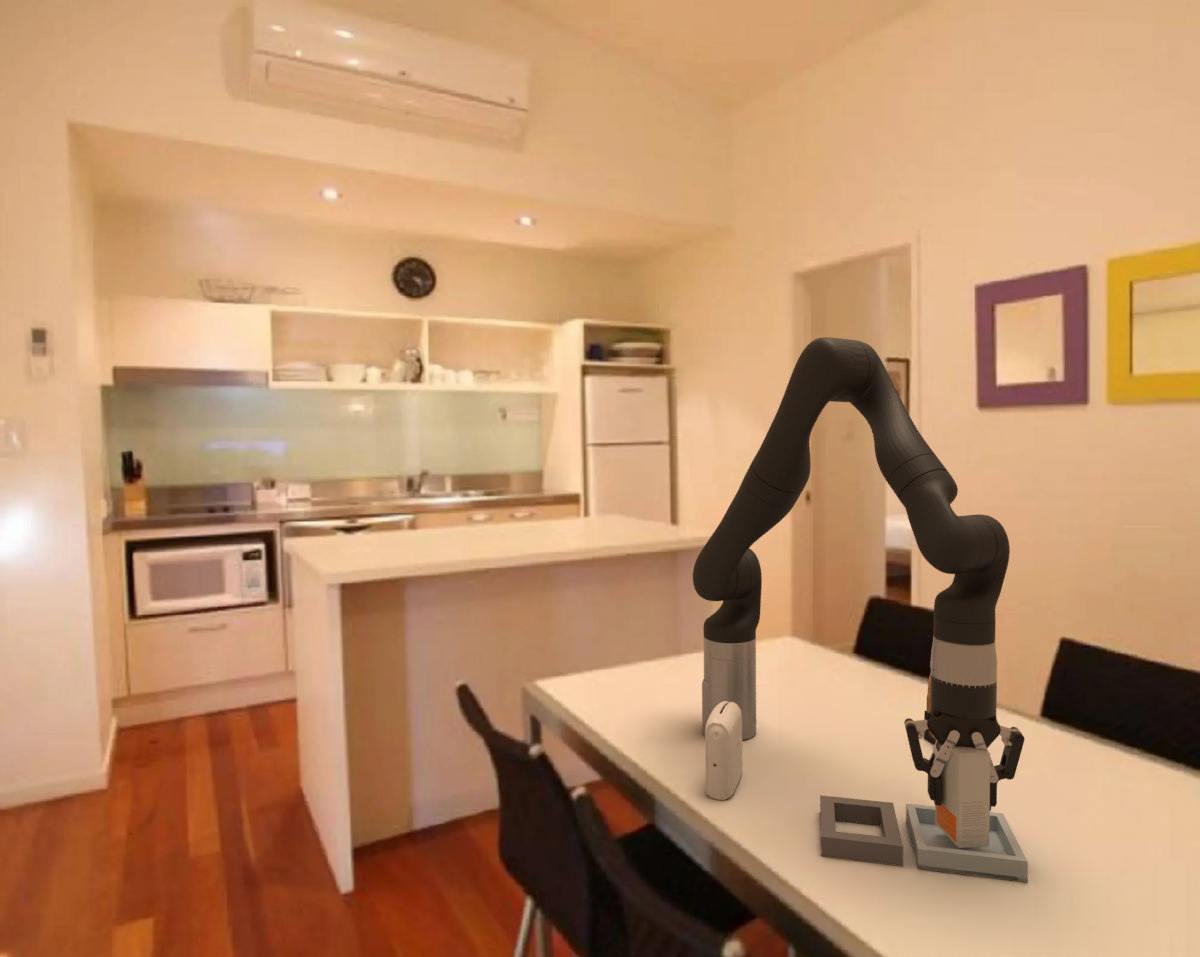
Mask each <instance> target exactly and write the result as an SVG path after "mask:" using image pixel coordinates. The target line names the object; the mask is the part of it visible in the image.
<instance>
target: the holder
mask: <svg viewBox="0 0 1200 957" xmlns="http://www.w3.org/2000/svg"><path fill="white" fill-rule="evenodd" d="M819 819H820V820H819V822H820V852H821V854H820V855H821V857H827V858H834V859H835V858H836V859H841V860H842V859H844V860H850V861H851V860H852V861H860V862H867V863H876V864H883V865H891V866H892V865H893V866H898V867H900V866H901V867H904V866H903V865H904V845H903V841H902V835H901V832H900V827H899V824H898V818H897V813H896V810H895V805H894V802H889V801H881V800H880V801H878V800H870V799H861V798H851V797H850V798H849V797H839V796H830V795H821V794H820V795H819ZM836 822H846V823H855V824H864V825H865V824H867V825H874V826H880V831H881V836H879V835H871V834H864V833H863V834H861V833H853V832H846V831H837V830H836V829H837V828H836V827H837V826H836Z"/></svg>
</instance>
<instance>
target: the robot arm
mask: <svg viewBox="0 0 1200 957" xmlns="http://www.w3.org/2000/svg"><path fill="white" fill-rule="evenodd" d="M780 401H781V402H780V404H779V407H778V409H777V410H776V413H775V416H774V418H773V419H772V422H771V424H770V426H769V428H768V430H767V433H766V435H765V437H764V439H763V441H762V443H761V445H760V447H759V448H758V450H757V453H756V454H755V456H754V457H753V459H752V461H751V462H750V465H749V467H748V468H747V471H746V472H745V475H744V476H743V479H742V481H741V483H740V485H739V487H738V490H737V492H736V494H735V495H734V497H733V499H732V501H731V503H730V504H729V506H728V508H727V509H726V512H725V513H724V515H723V517H722V518H721V521H720V522H719V524H718V525H717V527H716V529H715V530H714V531H713V533H712V534H711V536H710V537H709V539H708V541H706V543H705V545H703V547H702V549H701V551H700V552H699V554H698V556H697V558H696V559H695V563H694V565H693V570H692V583H693V587H694V590H695V591H696V593H697V595H698V596H699V597H700V598H701V599H703V600H706V601H709V602H722V603H721V605H720V607H719V608H718V609H717V610H716V611H715V612H713V613H712V614H711V615H710V616H708V617H707V618H706V619H705V620H704V622H703V628H702V629H703V679H702V681H701V704H702V706H701V708H702V709H701V710H702V711H701V713H702V714H701V717H702V718H701V719H702V723H701V725H702V727H701V728H702V731H701V732H702V735H703V736H705V728H706V723H707V720H708V718H709V716H710V714H711V712H712V711H713V709H714V708H715V707H716V706H717V705H718V704H719V703H721V702H724V701H728V702H734V703H736V704H737V705H738V706H739V708H740V710H741V713H742V741H744V740H747V739H748V740H749V739H751V738H753V737H754V736H756V735H757V636H756V635H757V634H756V633H757V628H758V626H759V623H760V619H761V602H762V589H763V588H762V586H763V585H762V582H763V581H762V580H763V577H762V568H761V567H762V566H761V564H760V561H759V558H758V556H757V555H756V553H755V552H754V550H753V549H751V547H752V546H753V545H754V544H755V542H757V541H758V540H759V539H761V538H762V537H763V536H764V535H765V534H767V533H768V532H770V530H772V529H773V528H774V527H775V526H776V525H777V524H779V523H781V521H782V520H783V519H784V518H785V517H787V515H788V514H789V513H791V511H792V509H793V508H794V506H795V505H796V503H797V501H798V499H799V498H800V496H801V494H802V492H803V491H804V489H805V487H806V485H807V483H808V481H809V478H810V476H811V468H812V467H811V466H812V465H811V464H812V463H811V462H812V461H811V449H810V448H811V447H810V438H811V435H812V430H813V428H814V426H815V424H816V422H817V421H818V419H819V417H820V415H821V413H822V411H823V410H824V408H825V407H826V406H827V405H828V404H829V403H830V402H833V403H834V402H835V403H850V405H852V406H853V407H854V408H855V409H856V410H857V411H858V412H859V413H860V414H861V416H863V417H864V419H865V421H867V424H868V425H869V427H870V429H871V432H872V437H873V443H874V444H873V445H874V453H875V459H876V462H877V463H876V464H877V465H878V468H879V470H880V472H881V474H882V476H883V478H884V479H885V481H886V483H887V484H888V486H889V487H890V488H891V490H892V491H893V493H894V494H895V496H896V497H897V499H898V500H899V502H900V503H901V505H902V506H903V507H904V509H905V511H906V515H907V518H908V521H909V524H910V527H911V530H912V534H913V537H914V539H915V542H916V545H917V548H918V549H919V551H920V554H921V555H922V557H923V558H924V559H925V561H927V563H928V564H929V565H930V566H931V567H933V568H934V569H936V570H937V571H939V572H941V573H943V574H948V575H954V576H953V580H952V583H951V584H950V585H949V586H948V587H947V588H945V589H944V590H942V591H940V592H938V593H937V595H936V596H935V598H934V603H933V604H934V605H933V630H932V631H933V637H932V638H933V639H932V646H931V651H930V653H931V654H930V662H929V668H930V673H931V709H930V713H929V715H928V716H927V718H926V720H924V719H920V720H913V719H912V718H911V717H910V718H909V717H908V718H905V720H904V722H903V723H904V728H905V731H906V737H907V740H908V745H909V749H910V753H911V754H910V755H911V757H912V762H913V765H914V768H915V769H916V770H917V771H919V772H924V773H926V774H927V793H928V796H929V799H930V801H933V804H934V806H935V805H939V806H941V793H942V778H941V775H940V774H941V772H942V769H943V767H944V765H945V763H947V762H948V759H949V757H950V751H951V748H954V746H958V747H971V748H976V750H981V749H983V750H984V751H988V748H989V747H990V746H991V745H992V744H993V743H994V741H995V740H996V739H997V738H998V737H999V736H1001V742H1002V743H1003V745H1004V748H1003V751H1002V754H1001V758H1000V762H999V764H997V765H996V764H995V765H994V762H993V759H992V758H991V756H990V812H992V808H993V807H994V808H995V807H996V806H997V802H998V801H997V800H998V783H999V782H1000V781H1001V780H1005V779H1006V780H1007V781H1008V780H1012V779H1014V778H1015V776H1016V772H1017V769H1018V765H1019V761H1020V757H1021V755H1022V751H1023V746H1024V743H1025V740H1026V739H1025V737H1024V734H1023V733H1022V731H1021V730H1020V729H1019V728H1018V727H1017V726H1011V727H1007V726H1003V725H1000V723H999V722H998V719H997V707H998V706H997V705H998V704H997V702H998V701H997V698H998V696H997V695H998V693H997V692H998V691H997V690H998V656H997V655H998V654H997V649H996V648H997V647H996V619H997V618H996V608H997V603H998V602H999V598H1000V595H1001V592H1002V588H1003V585H1004V581H1005V577H1006V574H1007V570H1008V565H1009V561H1010V553H1011V552H1010V541H1009V537H1008V534H1007V532H1006V530H1005V527H1004V526H1003V525H1002V524H1001V522H1000V521H999V520H997V519H996V518H994V517H992V516H990V515H986V514H981V513H980V514H969V515H957V514H956V513H955V511H954V509H953V508H952V506H951V504H952V503H953V502H954V501H955V499H956V498H957V496H958V491H959V490H958V489H959V488H958V485H957V483H956V481H955V479H954V478H953V476H952V474H950V472H949V471H948V469H947V468H946V466H945V465H944V464H943V462H941V460H940V459H939V457H938V456H937V454H936V453H935V452H934V450H932V448H931V447H930V446H929V444H928V443H927V441H926V440H925V439H924V437H923V435H922V433H920V431H919V430H918V428H917V426H916V425H915V423H914V421H913V420H912V418H911V416H910V414H909V412H908V411H907V410H908V409H907V408H906V406H905V404H904V403H903V401H902V399H901V397H900V394H899V393H898V391H897V389H896V387H895V385H894V383H893V381H892V379H891V377H890V374H889V372H888V371H887V369H886V366H885V365H884V363H883V361H882V359H881V357H880V356H879V355H878V353H877V352H876V350H875V349H874V347H872V346H871V345H869V344H868V343H866V342H863V341H861V340H857V339H856V340H855V339H847V338H839V337H831V336H830V337H827V336H825V337H824V336H823V337H818V338H816V339H813V340H812V341H811V342H809V343H808V344H807V345H806V346H805V348H804V349H803V350H802V352H801V353H800V355H799V357H798V359H797V361H796V363H795V365H794V367H793V370H792V373H791V375H790V378H789V380H788V383H787V385H786V388H785V391H784V393H783V396H782V399H781V400H780ZM927 729H929V730H930V731H931V733H932V734H933V736H934V737H935V738H936V740H937V741H936V743H935V745H933V748H932V753H931V754H930V757H929V759H927V758H925V757H924V755H923V752H922V747H921V742H920V740H922V739H924V732H925V730H927ZM938 742H939V744H940V745H941V749H940V748H939V745H938ZM988 752H989V751H988Z"/></svg>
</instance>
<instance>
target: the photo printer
mask: <svg viewBox="0 0 1200 957" xmlns="http://www.w3.org/2000/svg"><path fill="white" fill-rule="evenodd" d="M704 742H705V743H704V746H705V749H704V751H705V752H704V753H705V754H704V755H705V756H704V757H705V758H704V760H705V762H704V763H705V771H704V772H705V774H704V775H705V794H706V796H708V797H709V798H711V799H714V800H718V801H725V800H727V799H730V798H731V797H732V796H733V794H734V792H735V791H736V788H737V786H738V785H739V782H740V780H741V778H742V774H743V773H742V772H743V740H742V713H741V710H740V708H739V706H738V705H737V704H736V703H734V702H728V701H724V702H721V703H719V704H718V705H717V706H716V707H715V708H714V709H713V711H712V712H711V714H710V716H709V718H708V720H707V723H706V728H705V735H704Z"/></svg>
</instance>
